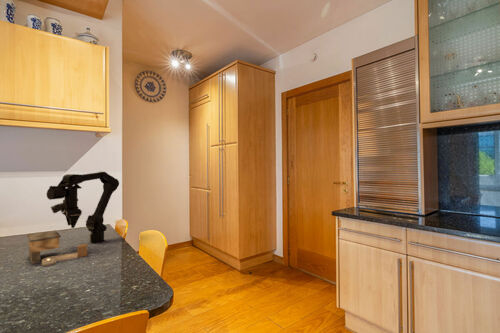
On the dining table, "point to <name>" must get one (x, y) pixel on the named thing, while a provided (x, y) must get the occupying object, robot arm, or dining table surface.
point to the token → (48, 261)
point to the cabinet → (42, 244)
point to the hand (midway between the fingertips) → (71, 226)
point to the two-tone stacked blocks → (80, 253)
